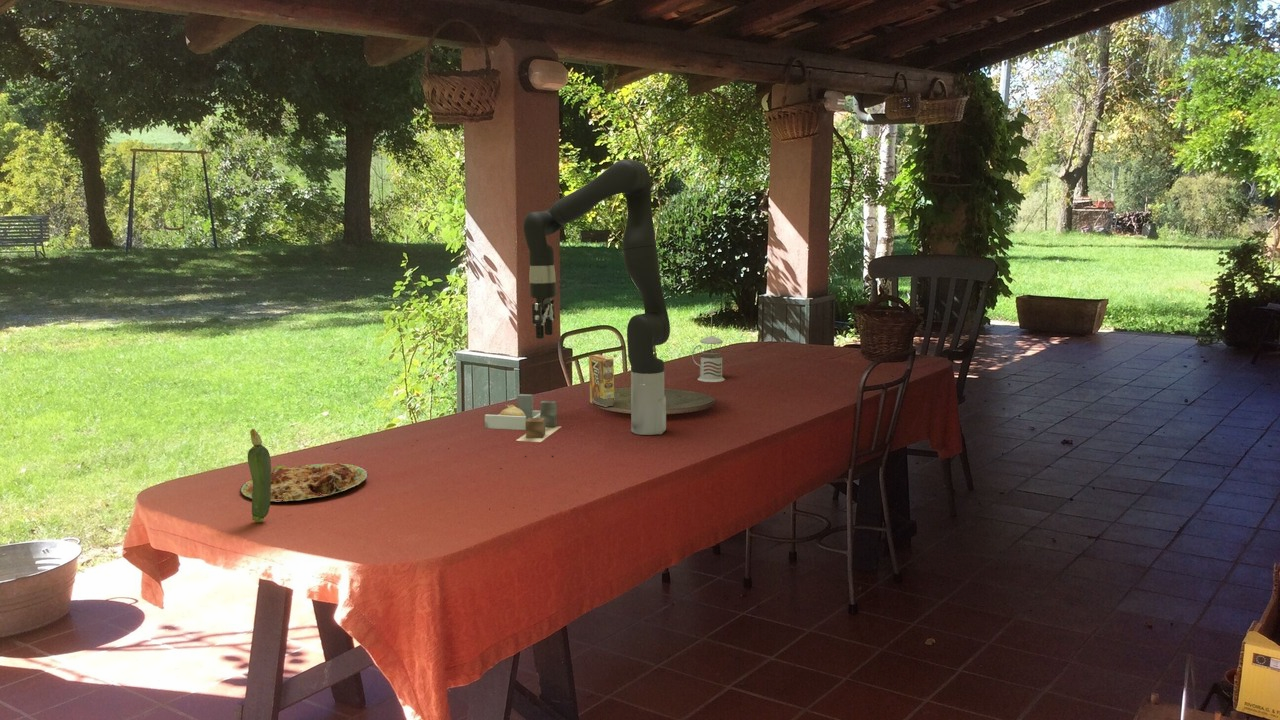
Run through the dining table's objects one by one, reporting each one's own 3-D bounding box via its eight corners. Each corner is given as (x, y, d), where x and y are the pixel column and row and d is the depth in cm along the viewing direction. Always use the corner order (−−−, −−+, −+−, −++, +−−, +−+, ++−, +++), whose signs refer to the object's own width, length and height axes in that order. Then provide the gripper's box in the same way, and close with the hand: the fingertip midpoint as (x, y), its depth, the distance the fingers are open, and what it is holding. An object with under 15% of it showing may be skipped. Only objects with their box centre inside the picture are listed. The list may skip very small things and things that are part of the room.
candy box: (615, 406, 318) (614, 357, 316) (603, 407, 316) (602, 359, 313) (600, 401, 325) (599, 354, 323) (588, 403, 323) (588, 355, 321)
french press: (726, 381, 357) (726, 311, 353) (692, 382, 357) (693, 311, 353) (724, 376, 367) (724, 307, 362) (691, 376, 367) (692, 307, 363)
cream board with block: (562, 430, 287) (561, 401, 286) (541, 446, 269) (540, 416, 268) (538, 428, 289) (537, 400, 287) (515, 445, 271) (515, 414, 269)
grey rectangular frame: (546, 418, 300) (545, 395, 299) (525, 433, 282) (524, 408, 281) (508, 416, 303) (507, 393, 302) (485, 431, 285) (484, 406, 284)
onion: (529, 426, 292) (529, 402, 291) (522, 433, 284) (521, 408, 283) (502, 425, 293) (502, 401, 292) (494, 432, 286) (493, 407, 284)
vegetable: (266, 517, 212) (259, 423, 209) (279, 521, 210) (273, 426, 206) (247, 523, 208) (240, 427, 205) (260, 527, 206) (253, 430, 203)
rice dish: (242, 516, 217) (240, 492, 215) (239, 478, 242) (237, 456, 240) (376, 501, 227) (375, 478, 226) (360, 465, 252) (359, 444, 251)
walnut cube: (545, 434, 278) (544, 417, 277) (542, 438, 273) (542, 421, 272) (528, 433, 278) (528, 417, 277) (526, 437, 273) (525, 421, 273)
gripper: (547, 282, 288) (549, 339, 290) (561, 279, 301) (563, 333, 304) (522, 283, 289) (524, 339, 292) (537, 279, 303) (539, 333, 305)
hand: (544, 336), depth 298 cm, fingers open, 8 cm apart
